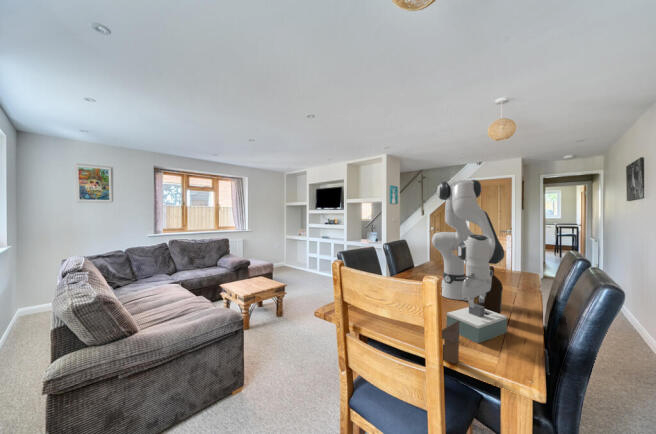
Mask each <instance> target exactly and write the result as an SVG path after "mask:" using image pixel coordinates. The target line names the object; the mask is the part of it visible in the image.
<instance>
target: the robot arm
mask: <svg viewBox="0 0 656 434" xmlns="http://www.w3.org/2000/svg"><path fill="white" fill-rule="evenodd" d="M482 188H483V187H482V184H481V182H480V181H479V180H477V179H458V180H457V179H456V180H450V181H446V180H445V181H441V182H440V183H439V184H438V185H437V189H436V194H437V197H438V198H439V199H440V200H441V201H445V207H444V222H445V224H446V225H447V226H449V227H451V228H452V229H454V230H455V232H454V231H453V232H452V231H451V232H450V231H440V232H439V231H438V232H435V233H434V234H433V235H432V238H431V244H432V245H433V247H434V248H435V249H436V250H437V251H438V252H439V254H440V255H441V256H442V260H443V272H442V277H443V278H442V279H441V286H440V287H442V295H441V296H442V297H444V298H447V299H451V300H459V301H465V302H468V307H471V308H473V307H475V304H476V303H475V301H474V300H475V298H477V296H479V295H480V297H479V303H484V298H485V295H486V292H489V291H490V289H491V283H492V277H491V276H493V271H492V270H490V266H491V265H496V264H499V263H500V262H502V261H503V260H504V258H505V249H504V247H503V245H502V243H501V241H500V239H499V238H498V235H497V233H496V230H495V228H494V225H493V222H492V221H491V219H490V216H489V214H488V213H487V211H486V210H483V209H482V208H481V206H480V205H479V203H478V199H477V198H479V197H480V196H481V193H482V190H483V189H482ZM467 222H469V223H472V224H475V225H476V226H478V227H479V229H481V232H482V234H475V233H474V232H473V231H472V230H471V229H470V228H469V226H468V224H467ZM454 251H457V252H456V253H457V255H456V254H455V253H454ZM465 262H466V263H465ZM490 264H491V265H490Z"/></svg>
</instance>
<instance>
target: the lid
mask: <svg viewBox="0 0 656 434" xmlns="http://www.w3.org/2000/svg"><path fill="white" fill-rule="evenodd" d="M484 313H488V314H490V315H485V314H484ZM447 315H448V316H450V317H452V318H455V319H457V320H459V321H462V322H464V323H467V324H469V325H471V326H474V327H476V328H481V327H484V326H487V325H490V324H493V323H496V322H499V321H502V320H505V319H507V320H508V316H507V315H504V314H498V313H496V312H493V311H490V310H487V309H485V307H484V306H481V305H478V303H475V307H473V308H471V307H469V306H468V307H467V306H466V307H463V308H460V309H457V310H453V311H449V312H446V316H447Z"/></svg>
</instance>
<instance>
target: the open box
mask: <svg viewBox="0 0 656 434" xmlns="http://www.w3.org/2000/svg"><path fill="white" fill-rule="evenodd" d="M484 314H485V315H490V314H488V313H484ZM456 321H458V320H457V319H455V318H452V317H450V316H448V315H447V314H446V328H447V327H448V326H450V325H451V324H453V323H455V322H456ZM507 324H508V318H507V319H505V320H502V321H499V322H496V323H493V324H490V325H487V326H484V327H481V328H476V327H474V326H471V325H469V324H467V323H464V322H462V321H459V336H461V337H464V338H465V339H468V340H470V341H472V342H474V343H476V344H481V343H483V342H486V341H490V340H491V339H494V338H497V337H499V336H502V335H504V334H506V333H507V332H508V331H507V329H508V325H507Z"/></svg>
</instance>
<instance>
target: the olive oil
mask: <svg viewBox="0 0 656 434" xmlns="http://www.w3.org/2000/svg"><path fill="white" fill-rule="evenodd" d="M489 266H490V270H492V271H493V276H491V277H492V283H491V289H490V291H489V292H486V295H485V298H484V303H479V297H480V295H479V296H477V297H476V298H477V304H478V305H481V306H484V307H485V309H487V310H490V311H493V312H496V313H498V314H501V313H502V303H503V301H502V300H503V289H504V287H503V284H502V281H501V280H500V279H499V278H498V276H496V275H495V266H494V265H489ZM501 315H502V314H501Z"/></svg>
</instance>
